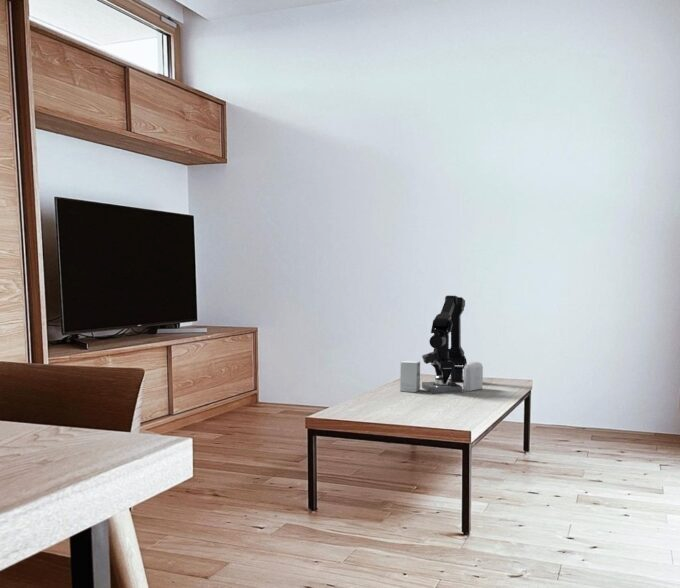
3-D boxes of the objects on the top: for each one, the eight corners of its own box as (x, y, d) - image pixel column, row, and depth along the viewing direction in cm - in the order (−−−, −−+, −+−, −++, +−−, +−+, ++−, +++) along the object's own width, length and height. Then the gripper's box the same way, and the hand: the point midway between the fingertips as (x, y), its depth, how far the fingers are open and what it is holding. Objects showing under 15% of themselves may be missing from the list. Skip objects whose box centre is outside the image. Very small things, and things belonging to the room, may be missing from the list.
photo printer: (475, 387, 303) (476, 360, 302) (483, 389, 300) (484, 361, 299) (461, 390, 296) (462, 362, 295) (470, 391, 292) (470, 363, 292)
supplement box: (416, 392, 290) (416, 362, 289) (399, 391, 292) (399, 362, 292) (420, 389, 297) (420, 360, 296) (403, 388, 299) (403, 360, 299)
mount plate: (422, 387, 302) (422, 382, 302) (452, 387, 304) (452, 381, 304) (430, 393, 288) (430, 387, 288) (462, 392, 290) (462, 386, 290)
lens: (433, 389, 299) (433, 375, 298) (445, 389, 299) (445, 375, 299) (437, 391, 293) (437, 377, 293) (449, 391, 294) (449, 377, 294)
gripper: (418, 344, 304) (418, 379, 304) (429, 348, 285) (429, 385, 286) (443, 343, 305) (442, 378, 306) (455, 348, 287) (454, 385, 287)
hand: (441, 382), depth 296 cm, fingers open, 9 cm apart
